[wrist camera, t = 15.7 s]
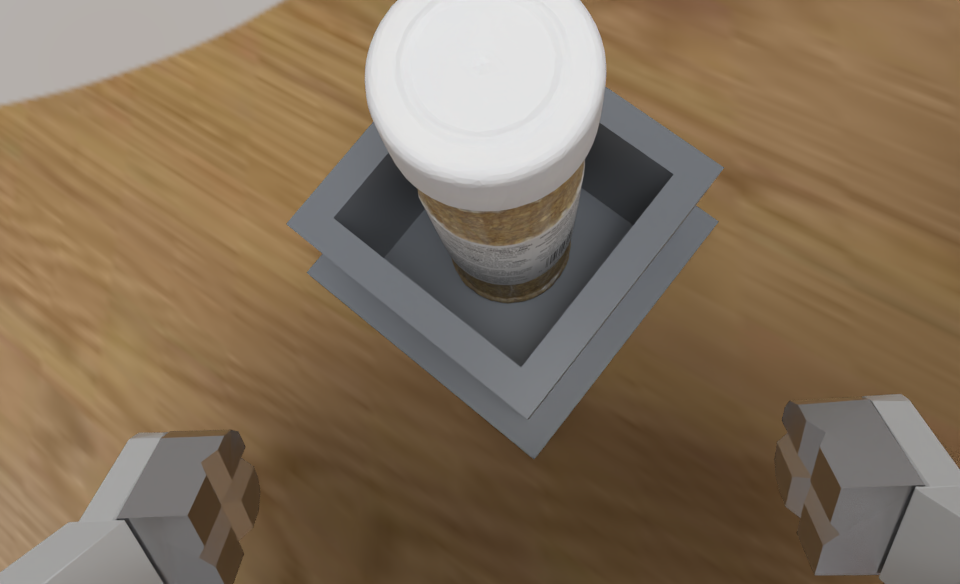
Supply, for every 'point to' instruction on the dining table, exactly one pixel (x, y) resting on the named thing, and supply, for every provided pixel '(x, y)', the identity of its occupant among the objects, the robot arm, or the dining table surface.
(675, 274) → the square holder
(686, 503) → the dining table surface
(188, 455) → the robot arm
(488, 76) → the sprinkles bottle
